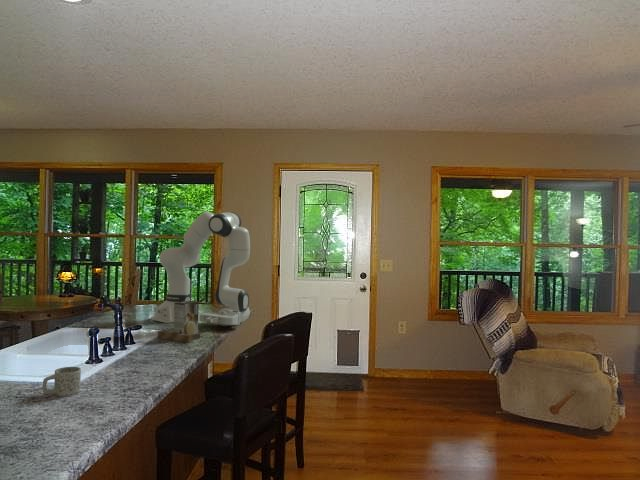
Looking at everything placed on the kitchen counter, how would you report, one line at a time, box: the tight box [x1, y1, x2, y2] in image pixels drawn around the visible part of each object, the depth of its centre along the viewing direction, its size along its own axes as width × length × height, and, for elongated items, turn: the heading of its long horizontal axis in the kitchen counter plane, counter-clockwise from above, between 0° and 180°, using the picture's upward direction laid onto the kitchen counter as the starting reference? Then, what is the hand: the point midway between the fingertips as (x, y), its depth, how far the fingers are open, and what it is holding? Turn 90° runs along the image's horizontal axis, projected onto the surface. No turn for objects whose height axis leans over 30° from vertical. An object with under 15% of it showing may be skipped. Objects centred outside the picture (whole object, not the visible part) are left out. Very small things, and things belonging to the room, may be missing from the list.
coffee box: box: [173, 300, 200, 335], centre depth 213 cm, size 9×6×16 cm
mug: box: [42, 366, 82, 398], centre depth 136 cm, size 10×7×7 cm
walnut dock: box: [157, 330, 201, 344], centre depth 211 cm, size 18×10×3 cm, turn 64°
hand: (208, 320), depth 228 cm, fingers closed
